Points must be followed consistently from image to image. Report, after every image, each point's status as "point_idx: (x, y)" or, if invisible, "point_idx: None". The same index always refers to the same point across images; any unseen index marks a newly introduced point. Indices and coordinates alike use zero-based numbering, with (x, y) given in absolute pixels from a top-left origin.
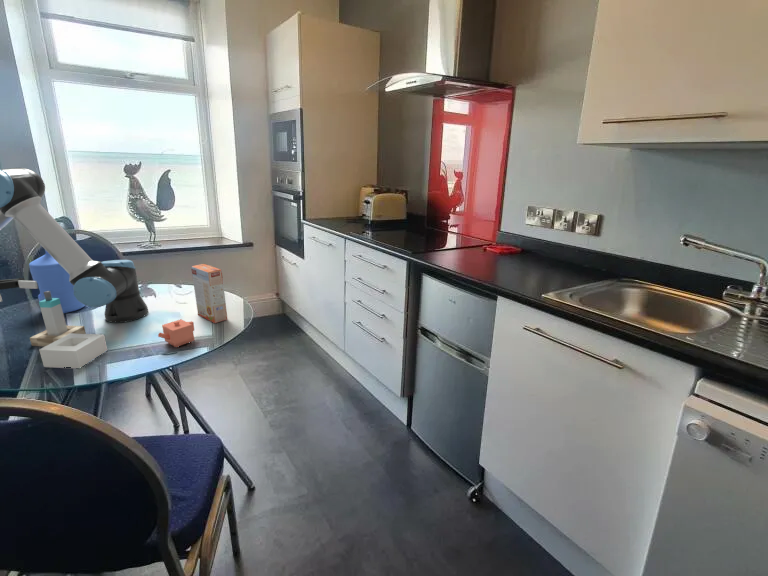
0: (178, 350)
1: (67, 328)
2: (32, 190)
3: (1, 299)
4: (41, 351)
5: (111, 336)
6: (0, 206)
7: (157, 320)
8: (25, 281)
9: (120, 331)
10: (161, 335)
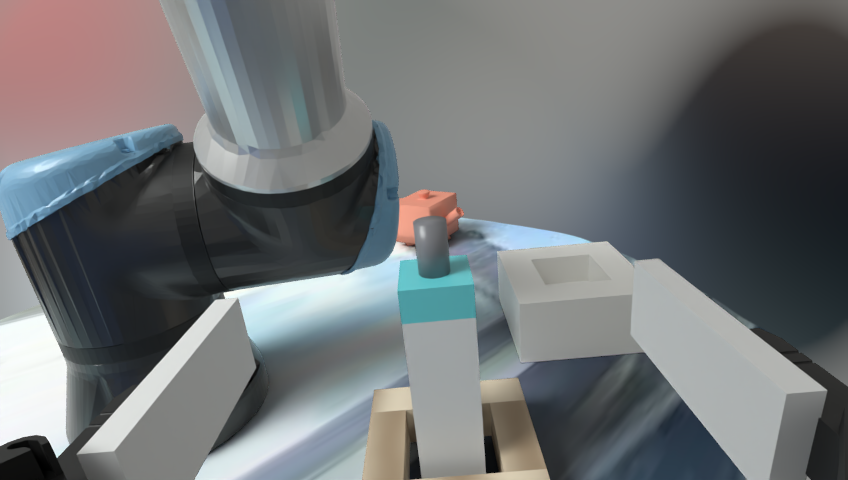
0: (461, 232)
1: (404, 429)
2: None
3: (637, 318)
4: None
5: (402, 341)
6: None
7: (273, 316)
8: (186, 364)
9: (359, 343)
10: (460, 211)
